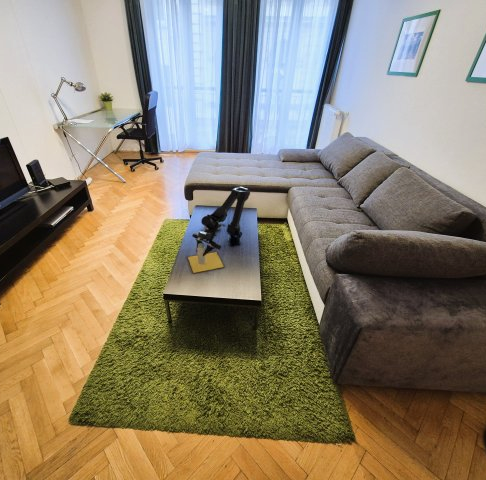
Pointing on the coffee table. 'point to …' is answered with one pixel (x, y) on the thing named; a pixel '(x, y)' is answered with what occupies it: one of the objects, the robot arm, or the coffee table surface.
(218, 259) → the cloth
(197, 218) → the coffee table surface
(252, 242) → the coffee table surface
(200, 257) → the bottle
